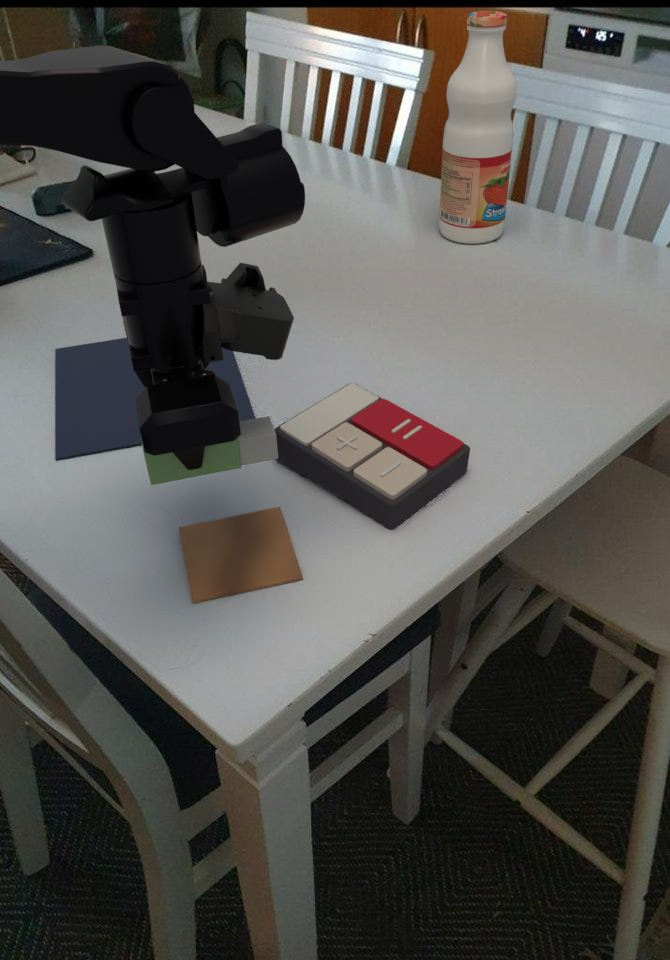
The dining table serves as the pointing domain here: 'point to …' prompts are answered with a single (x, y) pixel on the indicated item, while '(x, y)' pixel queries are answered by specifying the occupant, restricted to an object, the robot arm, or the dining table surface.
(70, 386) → the napkin
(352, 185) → the dining table surface
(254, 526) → the coaster
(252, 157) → the robot arm
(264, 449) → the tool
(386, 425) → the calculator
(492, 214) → the fruit juice
